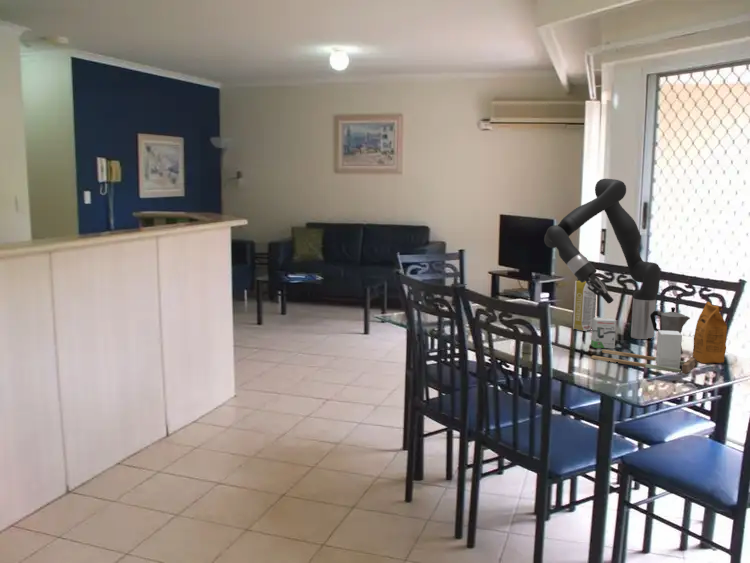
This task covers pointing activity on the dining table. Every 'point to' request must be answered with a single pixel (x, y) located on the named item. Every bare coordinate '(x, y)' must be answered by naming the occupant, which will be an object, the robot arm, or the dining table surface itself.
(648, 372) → the dining table surface
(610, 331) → the ink box
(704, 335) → the coffee package
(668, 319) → the coffeepot
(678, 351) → the supplement box
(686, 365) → the beam slot
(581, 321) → the juice carton
